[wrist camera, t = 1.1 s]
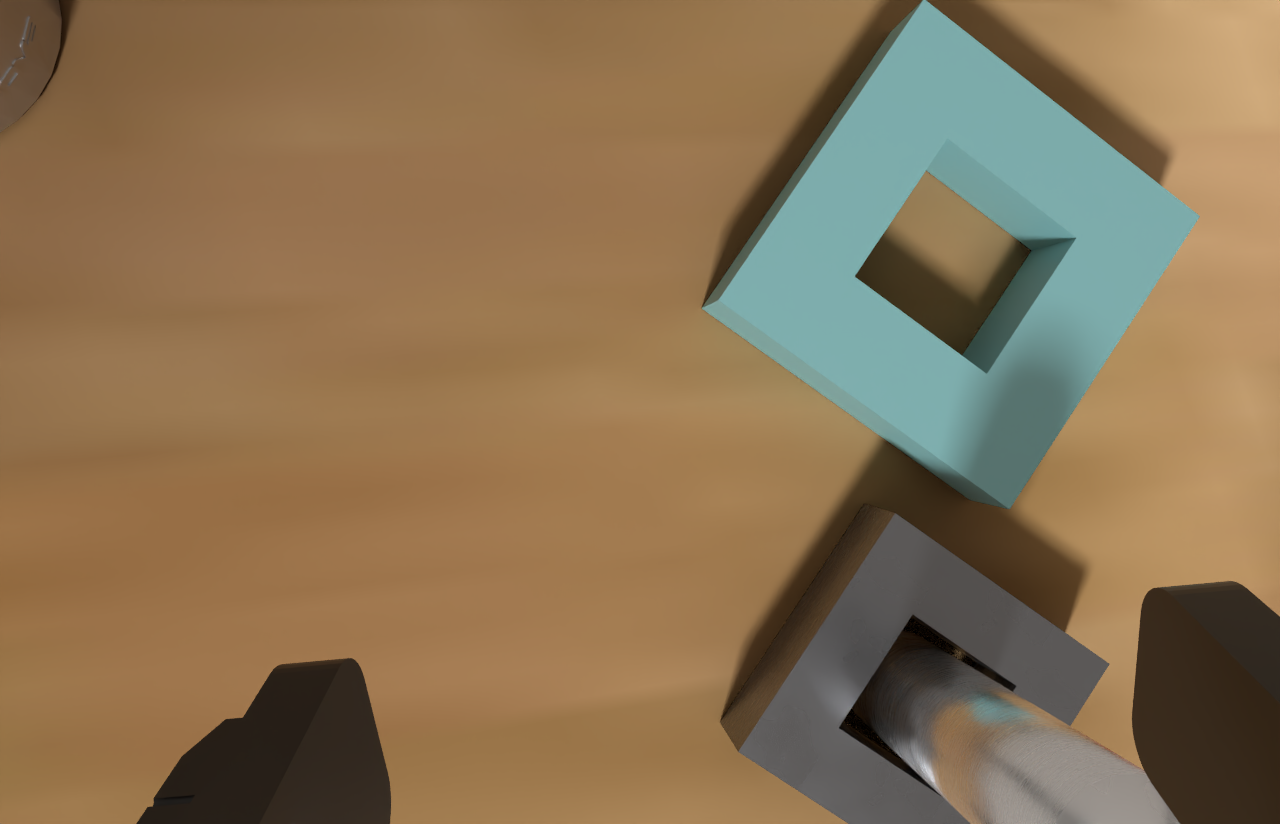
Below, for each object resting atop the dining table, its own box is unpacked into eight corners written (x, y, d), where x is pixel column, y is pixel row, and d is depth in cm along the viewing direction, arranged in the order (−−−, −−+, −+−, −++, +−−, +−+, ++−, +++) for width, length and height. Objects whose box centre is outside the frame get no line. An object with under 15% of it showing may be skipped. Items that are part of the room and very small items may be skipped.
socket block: (720, 722, 36) (738, 751, 33) (864, 503, 36) (895, 512, 33) (925, 856, 37) (961, 897, 34) (1062, 642, 37) (1109, 663, 34)
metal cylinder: (825, 697, 36) (1016, 884, 22) (882, 610, 36) (1106, 742, 23) (907, 751, 37) (1144, 968, 23) (962, 665, 37) (1230, 827, 23)
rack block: (701, 308, 35) (718, 300, 32) (890, 31, 36) (924, -2, 33) (969, 500, 37) (1009, 509, 34) (1145, 230, 38) (1199, 216, 35)
